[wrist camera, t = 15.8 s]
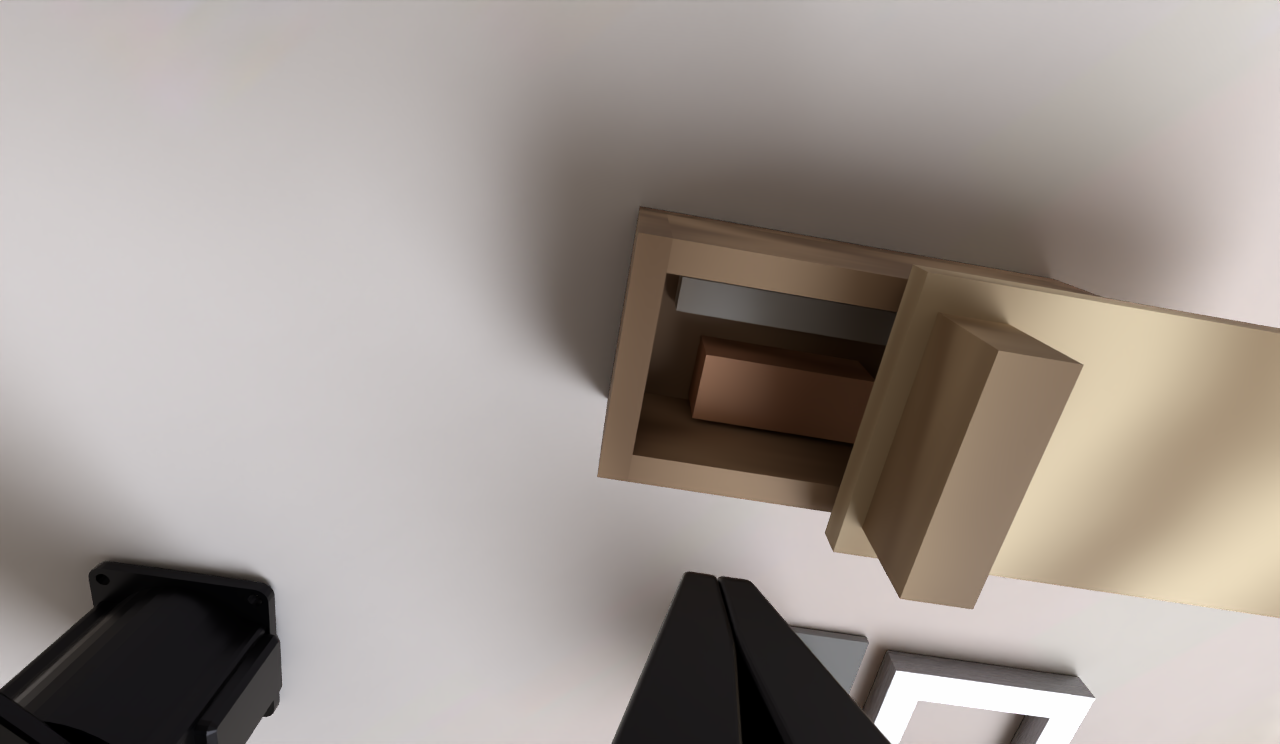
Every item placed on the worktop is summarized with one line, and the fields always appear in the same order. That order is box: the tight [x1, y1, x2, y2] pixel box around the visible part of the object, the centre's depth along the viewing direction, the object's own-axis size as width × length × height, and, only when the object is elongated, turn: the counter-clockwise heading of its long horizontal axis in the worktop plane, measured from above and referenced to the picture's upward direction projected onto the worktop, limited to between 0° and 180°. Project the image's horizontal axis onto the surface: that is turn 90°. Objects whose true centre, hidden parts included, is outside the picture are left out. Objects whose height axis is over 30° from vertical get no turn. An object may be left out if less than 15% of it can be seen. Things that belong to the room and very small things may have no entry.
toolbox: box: [597, 206, 1101, 512], centre depth 18 cm, size 13×6×5 cm, turn 80°
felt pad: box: [790, 626, 869, 694], centre depth 26 cm, size 6×6×1 cm
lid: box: [825, 264, 1280, 618], centre depth 14 cm, size 14×7×3 cm, turn 80°
